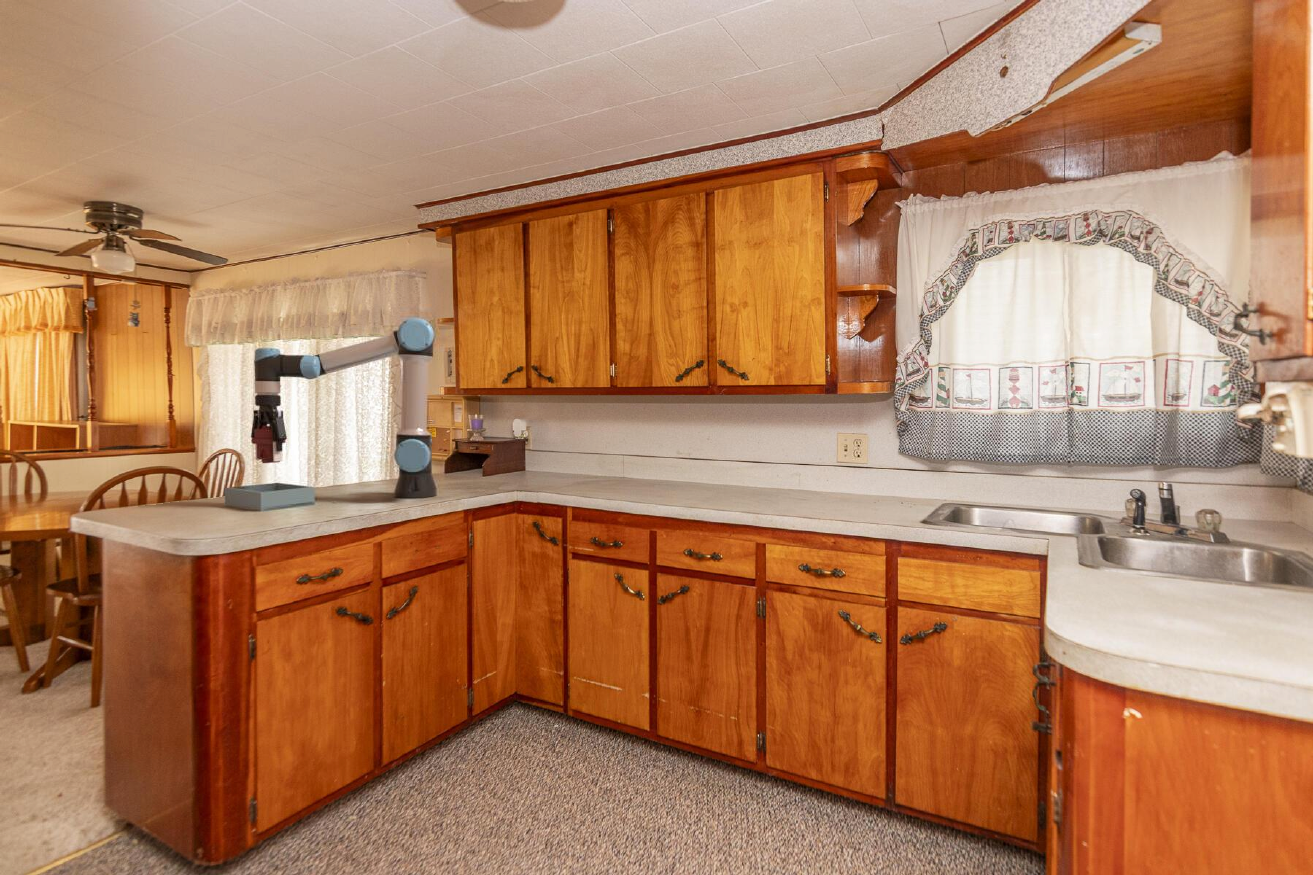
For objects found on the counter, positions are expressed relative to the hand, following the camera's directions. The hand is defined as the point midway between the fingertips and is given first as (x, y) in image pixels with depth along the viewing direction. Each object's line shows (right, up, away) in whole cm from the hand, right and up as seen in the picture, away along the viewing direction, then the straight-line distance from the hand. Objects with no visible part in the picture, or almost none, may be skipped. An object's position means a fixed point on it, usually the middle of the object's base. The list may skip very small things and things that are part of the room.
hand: (268, 460), depth 231 cm
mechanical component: (0, -1, 0) cm, 1 cm away
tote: (0, -15, +1) cm, 15 cm away
